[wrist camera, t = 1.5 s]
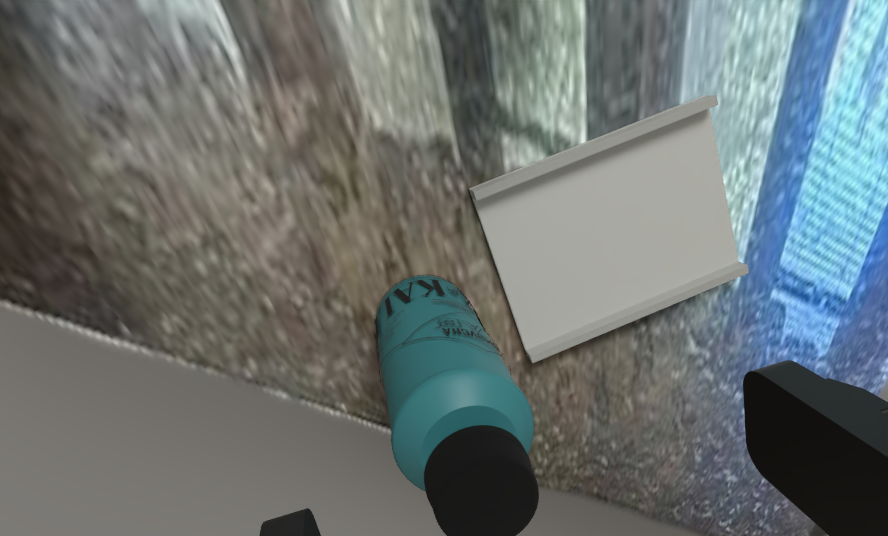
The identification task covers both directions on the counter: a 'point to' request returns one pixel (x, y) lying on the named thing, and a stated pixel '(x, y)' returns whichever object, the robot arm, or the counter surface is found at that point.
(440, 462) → the beverage bottle
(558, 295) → the panel with raised edges
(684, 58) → the counter surface
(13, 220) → the counter surface
